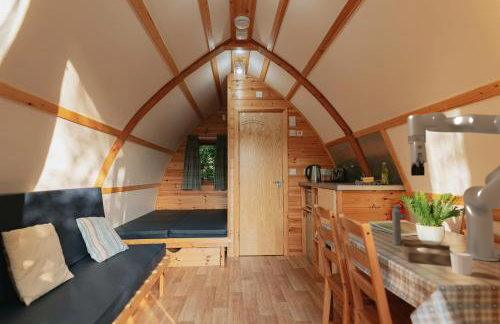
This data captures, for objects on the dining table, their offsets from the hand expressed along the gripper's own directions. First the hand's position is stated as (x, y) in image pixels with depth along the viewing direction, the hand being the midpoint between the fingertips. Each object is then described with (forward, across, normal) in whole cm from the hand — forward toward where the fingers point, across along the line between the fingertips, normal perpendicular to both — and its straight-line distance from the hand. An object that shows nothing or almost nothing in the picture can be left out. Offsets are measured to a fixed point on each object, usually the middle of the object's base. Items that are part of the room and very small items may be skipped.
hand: (417, 175), depth 132 cm
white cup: (+37, -27, -7) cm, 46 cm away
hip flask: (+37, +21, +6) cm, 42 cm away
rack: (+36, -12, -1) cm, 38 cm away
